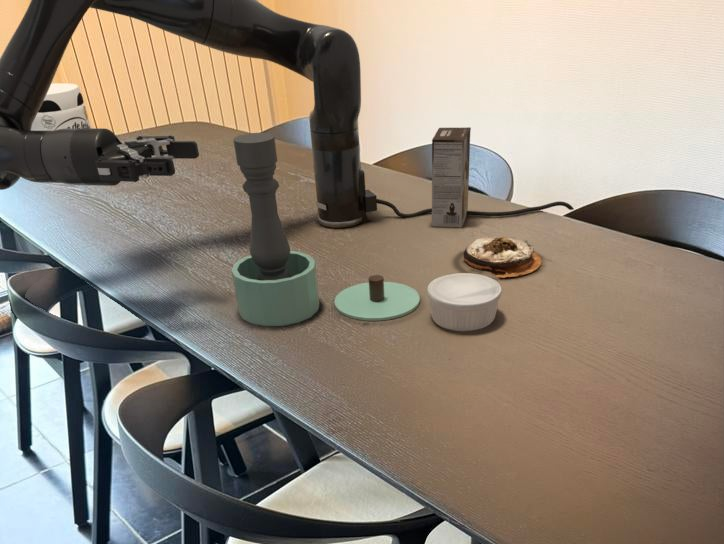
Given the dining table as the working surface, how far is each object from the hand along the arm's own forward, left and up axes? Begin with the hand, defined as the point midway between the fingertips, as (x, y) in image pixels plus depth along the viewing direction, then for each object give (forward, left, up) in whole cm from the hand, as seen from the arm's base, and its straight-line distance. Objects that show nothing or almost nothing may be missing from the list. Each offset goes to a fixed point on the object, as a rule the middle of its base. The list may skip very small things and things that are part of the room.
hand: (185, 158), depth 102 cm
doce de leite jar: (+18, -102, -23) cm, 106 cm away
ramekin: (-34, +22, -23) cm, 47 cm away
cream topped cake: (-50, +4, -23) cm, 55 cm away
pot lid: (-24, +11, -22) cm, 35 cm away
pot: (-9, +6, -23) cm, 25 cm away
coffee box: (-52, -20, -23) cm, 60 cm away
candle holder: (-9, +6, -22) cm, 25 cm away
